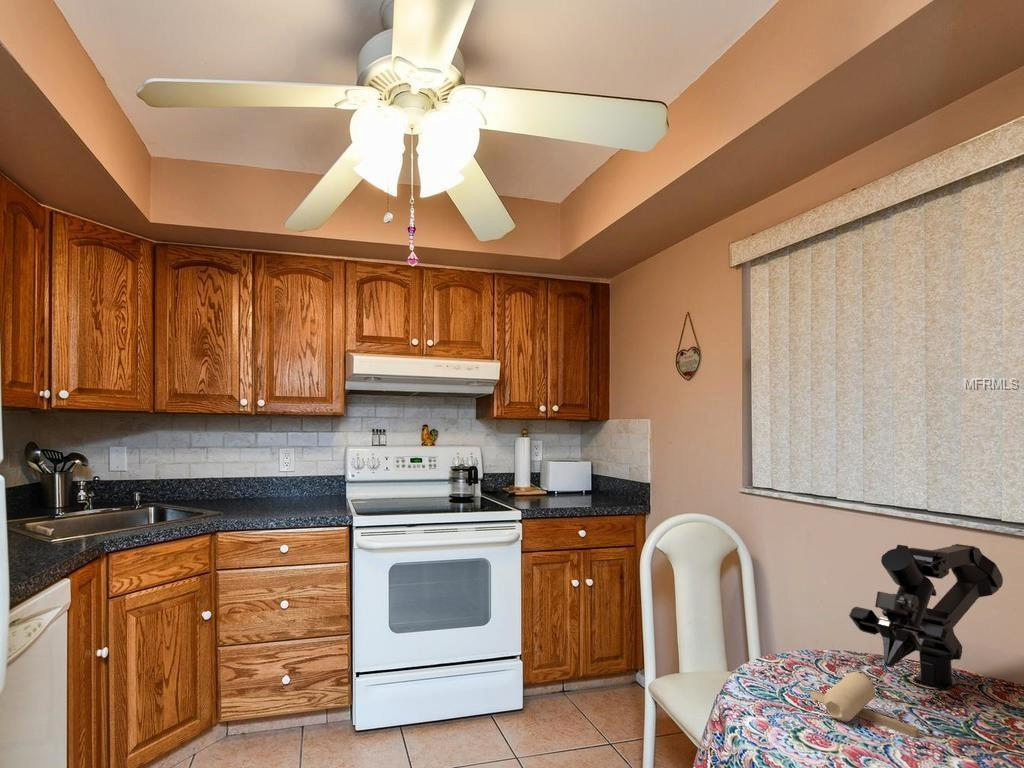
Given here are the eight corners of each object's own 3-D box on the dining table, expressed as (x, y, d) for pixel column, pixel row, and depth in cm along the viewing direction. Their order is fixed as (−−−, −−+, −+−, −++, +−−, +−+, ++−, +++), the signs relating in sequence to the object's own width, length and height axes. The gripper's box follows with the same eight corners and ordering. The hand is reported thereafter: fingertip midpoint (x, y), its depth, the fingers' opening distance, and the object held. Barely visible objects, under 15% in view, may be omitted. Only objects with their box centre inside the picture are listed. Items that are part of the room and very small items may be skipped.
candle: (878, 684, 119) (851, 710, 114) (871, 705, 121) (844, 732, 116) (850, 665, 123) (822, 689, 118) (843, 686, 125) (816, 710, 120)
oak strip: (814, 696, 129) (814, 690, 129) (919, 735, 112) (919, 728, 112) (810, 698, 128) (810, 691, 128) (915, 737, 111) (915, 730, 111)
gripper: (851, 568, 138) (824, 629, 131) (946, 585, 122) (921, 656, 115) (873, 599, 141) (848, 660, 135) (967, 619, 125) (945, 690, 119)
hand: (887, 665), depth 126 cm, fingers closed
